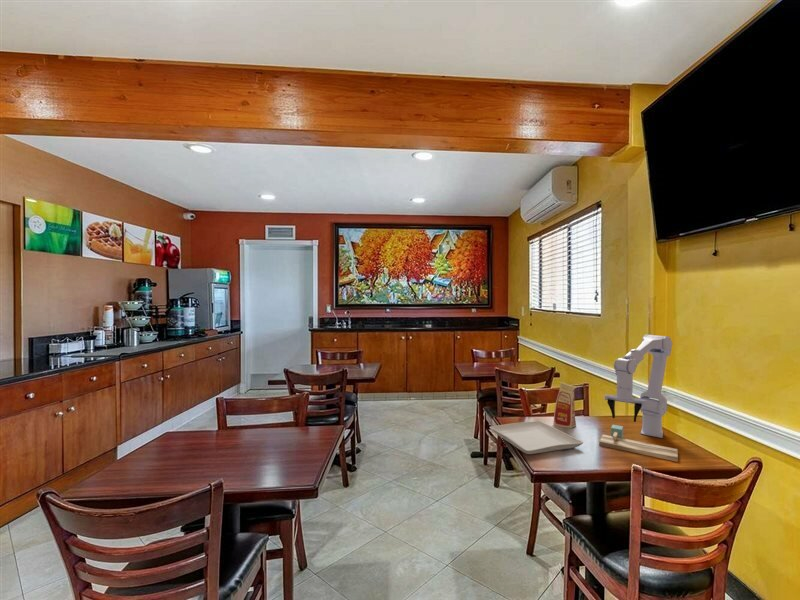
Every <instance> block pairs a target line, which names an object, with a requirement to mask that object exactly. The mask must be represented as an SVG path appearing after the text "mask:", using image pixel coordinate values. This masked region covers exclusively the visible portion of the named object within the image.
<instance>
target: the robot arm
mask: <svg viewBox="0 0 800 600" xmlns="http://www.w3.org/2000/svg"><path fill="white" fill-rule="evenodd" d="M672 348H673V341H672V339H671V337H670V336H667V335H655V334H648V333H647V334H644V335H643V337H642V339H641V343H640V344H639V345H638V346H637V348H634V349H630V351H628V353H626V354H625V355H623V357H619V358H616V359H615V361H614V365H613V369H614V371H615V372H614V373H615V376H616V395H612V394H605V395H604V400H605V401H606V403H607V405H608V407H609V409H610V412H611V417H612V419H615V417H616V410H615V408H616V407H615V406H616V405H615V404H616V402H620V403H627V404H632V405H633V404H634V406H633V408H634V409H633V410H634V412H633V413H634V414H633V415H634V416H633V422H634V423H636V422H637V418H638V414H639V412H641V413H642V422H641V423H642V427H641V430H640V434H641V435H645V436H650V437H656V438H664V437H663V436H664V431H663V430H662V429H663V416H665V415H666V414H667V411H668V398H666V397H665V396H664V395H663V394H662V389H663V385H664V384H663V382H664V378H665V372H666V366H667V362H668V357H669V356H671V353H672ZM647 353H648V354H651V355H652V363H651V369H650V374H649V381H648V386H647V390H646V391H644V392H641V394H640V397H639V398H636V397H633V394H634V392H633V391H634V390H633V389H634V387H633V384H634V383H633V382H634V379H633V377H634V375H633V374H634V373H635V372H636V370H637V367H638V365H639V364H640V363H641V362H642V361H643V360H644V358H645V357H644V356H645V355H646V354H647Z"/></svg>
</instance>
